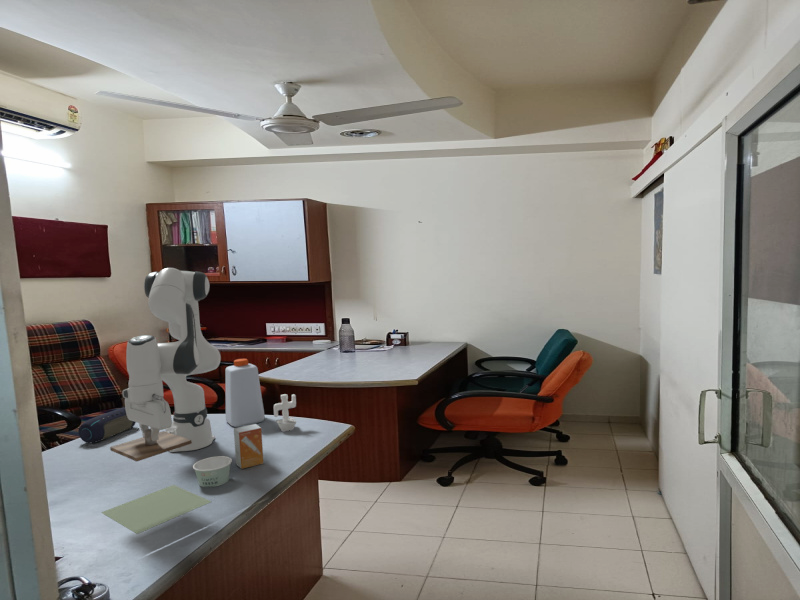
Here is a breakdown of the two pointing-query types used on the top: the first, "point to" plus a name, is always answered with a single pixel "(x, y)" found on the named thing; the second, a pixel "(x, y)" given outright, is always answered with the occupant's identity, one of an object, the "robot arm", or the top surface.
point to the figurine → (285, 413)
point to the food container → (213, 471)
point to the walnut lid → (150, 445)
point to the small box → (248, 446)
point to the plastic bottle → (243, 394)
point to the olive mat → (155, 508)
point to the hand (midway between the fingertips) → (150, 439)
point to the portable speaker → (105, 426)
